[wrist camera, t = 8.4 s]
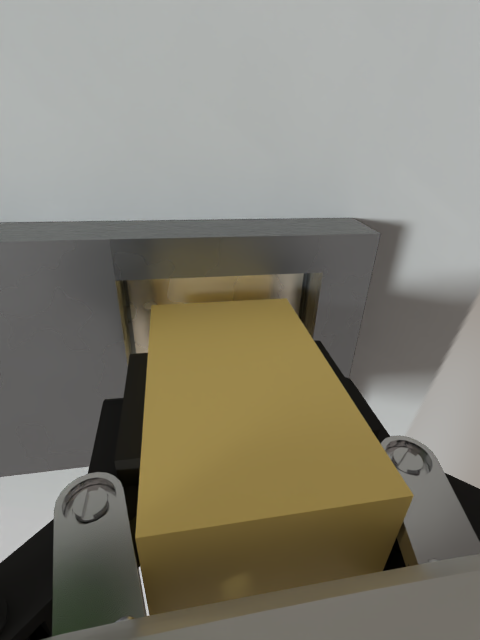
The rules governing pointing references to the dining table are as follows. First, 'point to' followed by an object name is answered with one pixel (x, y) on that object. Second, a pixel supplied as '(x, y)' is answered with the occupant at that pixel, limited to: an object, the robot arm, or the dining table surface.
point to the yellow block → (254, 461)
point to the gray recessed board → (148, 309)
